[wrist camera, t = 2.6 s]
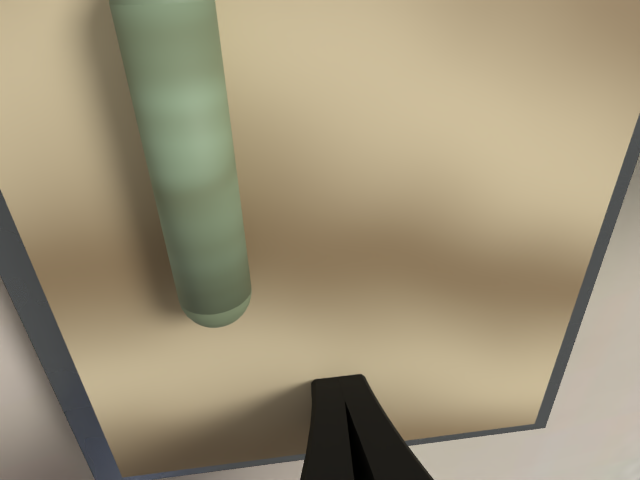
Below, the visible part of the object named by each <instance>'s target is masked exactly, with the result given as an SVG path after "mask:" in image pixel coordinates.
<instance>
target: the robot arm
mask: <svg viewBox="0 0 640 480" xmlns="http://www.w3.org/2000/svg"><path fill="white" fill-rule="evenodd" d="M311 396H312V409H311V421H310V429H309V436H308V442H307V449H306V455H305V460H304V464H303V469H302V474H301V478H300V480H434V479H433V478H432V477H431V476H430V474H429V473H428V472H427V470H426V469H425V468H424V467H423V465H422V464H421V463H420V461H419V460H418V459H417V458H416V456H415V455H414V454H413V452H412V451H411V449H410V448H409V447H408V445H407V444H406V442H405V441H404V440H403V438H402V437H401V435H400V434H399V432H398V431H397V430H396V428H395V427H394V425H393V424H392V422H391V421H390V419H389V418H388V416H387V414H386V413H385V411H384V410H383V408H382V406H381V405H380V403H379V401H378V400H377V398H376V396H375V395H374V393H373V391H372V389H371V387H370V385H369V384H368V382H367V380H366V377H365V376H364V375H362V374H355V375H347V376H338V377H330V378H321V379H315V380H313V381H312V382H311Z"/></svg>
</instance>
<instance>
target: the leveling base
mask: <svg viewBox="0 0 640 480" xmlns="http://www.w3.org/2000/svg"><path fill="white" fill-rule="evenodd" d="M639 153H640V113H639V116H638V119H637V122H636V125H635V128H634V131H633V134H632V137H631V140H630V143H629V146H628V149H627V152H626V155H625V158H624V161H623V164H622V167H621V170H620V173H619V175H618V178H617V181H616V184H615V187H614V190H613V193H612V196H611V199H610V202H609V205H608V208H607V211H606V214H605V217H604V220H603V223H602V226H601V229H600V232H599V235H598V238H597V241H596V244H595V246H594V249H593V252H592V255H591V258H590V261H589V264H588V267H587V270H586V273H585V276H584V279H583V282H582V285H581V288H580V291H579V294H578V297H577V300H576V303H575V306H574V309H573V312H572V315H571V318H570V320H569V323H568V326H567V329H566V332H565V335H564V338H563V341H562V344H561V347H560V350H559V353H558V356H557V359H556V362H555V365H554V368H553V371H552V374H551V377H550V380H549V383H548V386H547V389H546V391H545V394H544V397H543V400H542V403H541V406H540V409H539V412H538V415H537V418H536V421H535V424H529V425H521V426H514V427H506V428H498V429H491V430H483V431H475V432H468V433H460V434H452V435H445V436H437V437H429V438H422V439H414V440H406V441H405V442H406V444H407V445H408V446H411V445H418V444H426V443H434V442H441V441H449V440H456V439H464V438H471V437H479V436H487V435H494V434H502V433H509V432H517V431H525V430H532V429H540V428H545V427H546V424H547V421H548V418H549V415H550V412H551V409H552V406H553V403H554V401H555V398H556V395H557V392H558V389H559V386H560V383H561V380H562V377H563V374H564V371H565V369H566V366H567V363H568V360H569V357H570V354H571V351H572V348H573V345H574V342H575V339H576V337H577V334H578V331H579V328H580V325H581V322H582V319H583V316H584V313H585V310H586V308H587V305H588V302H589V299H590V296H591V293H592V290H593V287H594V284H595V281H596V278H597V276H598V273H599V270H600V267H601V264H602V261H603V258H604V255H605V252H606V249H607V246H608V244H609V241H610V238H611V235H612V232H613V229H614V226H615V223H616V220H617V217H618V214H619V212H620V209H621V206H622V203H623V200H624V197H625V194H626V191H627V188H628V185H629V182H630V180H631V177H632V174H633V171H634V168H635V165H636V162H637V159H638V156H639ZM0 275H1V278H2V280H3V282H4V284H5V286H6V288H7V291H8V293H9V295H10V297H11V299H12V301H13V304H14V306H15V308H16V310H17V312H18V314H19V316H20V319H21V321H22V323H23V325H24V327H25V329H26V332H27V334H28V336H29V338H30V340H31V342H32V345H33V347H34V349H35V351H36V353H37V355H38V357H39V360H40V362H41V364H42V366H43V368H44V370H45V373H46V375H47V377H48V379H49V381H50V383H51V386H52V388H53V390H54V392H55V394H56V396H57V398H58V401H59V403H60V405H61V407H62V409H63V411H64V414H65V416H66V418H67V420H68V422H69V424H70V427H71V429H72V431H73V433H74V435H75V437H76V439H77V442H78V444H79V446H80V448H81V450H82V452H83V455H84V457H85V459H86V461H87V463H88V465H89V468H90V470H91V472H92V474H93V476H94V478H95V480H153V479H160V478H168V477H176V476H183V475H191V474H198V473H206V472H213V471H221V470H229V469H236V468H244V467H251V466H259V465H267V464H274V463H282V462H289V461H297V460H305V455H306V454H299V455H291V456H284V457H276V458H269V459H261V460H253V461H246V462H238V463H230V464H223V465H215V466H207V467H200V468H192V469H184V470H177V471H169V472H161V473H154V474H146V475H138V476H131V477H123V478H122V475H121V473H120V471H119V468H118V466H117V464H116V461H115V459H114V457H113V454H112V452H111V449H110V447H109V445H108V442H107V440H106V438H105V435H104V433H103V431H102V428H101V426H100V423H99V421H98V419H97V416H96V414H95V412H94V409H93V407H92V405H91V402H90V400H89V397H88V395H87V393H86V390H85V388H84V386H83V383H82V381H81V379H80V376H79V374H78V371H77V369H76V367H75V364H74V362H73V360H72V357H71V355H70V353H69V350H68V348H67V345H66V343H65V341H64V338H63V336H62V334H61V331H60V329H59V327H58V324H57V322H56V319H55V317H54V315H53V312H52V310H51V308H50V305H49V303H48V301H47V298H46V296H45V293H44V291H43V289H42V286H41V284H40V282H39V279H38V277H37V275H36V272H35V270H34V267H33V265H32V263H31V260H30V258H29V256H28V253H27V251H26V249H25V246H24V244H23V241H22V239H21V237H20V234H19V232H18V230H17V227H16V225H15V223H14V220H13V218H12V216H11V213H10V211H9V208H8V206H7V204H6V201H5V199H4V197H3V194H2V192H1V190H0Z"/></svg>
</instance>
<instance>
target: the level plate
mask: <svg viewBox="0 0 640 480" xmlns="http://www.w3.org/2000/svg"><path fill="white" fill-rule="evenodd" d="M639 113H640V0H0V190H1V192H2V194H3V197H4V199H5V201H6V204H7V206H8V208H9V211H10V213H11V216H12V218H13V220H14V223H15V225H16V227H17V230H18V232H19V234H20V237H21V239H22V241H23V244H24V246H25V249H26V251H27V253H28V256H29V258H30V260H31V263H32V265H33V267H34V270H35V272H36V275H37V277H38V279H39V282H40V284H41V286H42V289H43V291H44V293H45V296H46V298H47V301H48V303H49V305H50V308H51V310H52V312H53V315H54V317H55V319H56V322H57V324H58V327H59V329H60V331H61V334H62V336H63V338H64V341H65V343H66V345H67V348H68V350H69V353H70V355H71V357H72V360H73V362H74V364H75V367H76V369H77V371H78V374H79V376H80V379H81V381H82V383H83V386H84V388H85V390H86V393H87V395H88V397H89V400H90V402H91V405H92V407H93V409H94V412H95V414H96V416H97V419H98V421H99V423H100V426H101V428H102V431H103V433H104V435H105V438H106V440H107V442H108V445H109V447H110V449H111V452H112V454H113V457H114V459H115V461H116V464H117V466H118V468H119V471H120V473H121V475H122V478H123V477H131V476H138V475H146V474H154V473H161V472H169V471H177V470H184V469H192V468H200V467H207V466H215V465H223V464H230V463H238V462H246V461H253V460H261V459H269V458H276V457H284V456H291V455H299V454H306V449H307V442H308V436H309V429H310V421H311V409H312V396H311V382H312V381H313V380H315V379H321V378H330V377H338V376H347V375H355V374H362V375H364V376H365V377H366V380H367V382H368V384H369V385H370V387H371V389H372V391H373V393H374V395H375V396H376V398H377V400H378V401H379V403H380V405H381V406H382V408H383V410H384V411H385V413H386V414H387V416H388V418H389V419H390V421H391V422H392V424H393V425H394V427H395V428H396V430H397V431H398V432H399V434H400V435H401V437H402V438H403V440H404V441H406V440H414V439H422V438H429V437H437V436H445V435H452V434H460V433H468V432H475V431H483V430H491V429H498V428H506V427H514V426H521V425H529V424H535V421H536V418H537V415H538V412H539V409H540V406H541V403H542V400H543V397H544V394H545V391H546V389H547V386H548V383H549V380H550V377H551V374H552V371H553V368H554V365H555V362H556V359H557V356H558V353H559V350H560V347H561V344H562V341H563V338H564V335H565V332H566V329H567V326H568V323H569V320H570V318H571V315H572V312H573V309H574V306H575V303H576V300H577V297H578V294H579V291H580V288H581V285H582V282H583V279H584V276H585V273H586V270H587V267H588V264H589V261H590V258H591V255H592V252H593V249H594V246H595V244H596V241H597V238H598V235H599V232H600V229H601V226H602V223H603V220H604V217H605V214H606V211H607V208H608V205H609V202H610V199H611V196H612V193H613V190H614V187H615V184H616V181H617V178H618V175H619V173H620V170H621V167H622V164H623V161H624V158H625V155H626V152H627V149H628V146H629V143H630V140H631V137H632V134H633V131H634V128H635V125H636V122H637V119H638V116H639Z"/></svg>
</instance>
